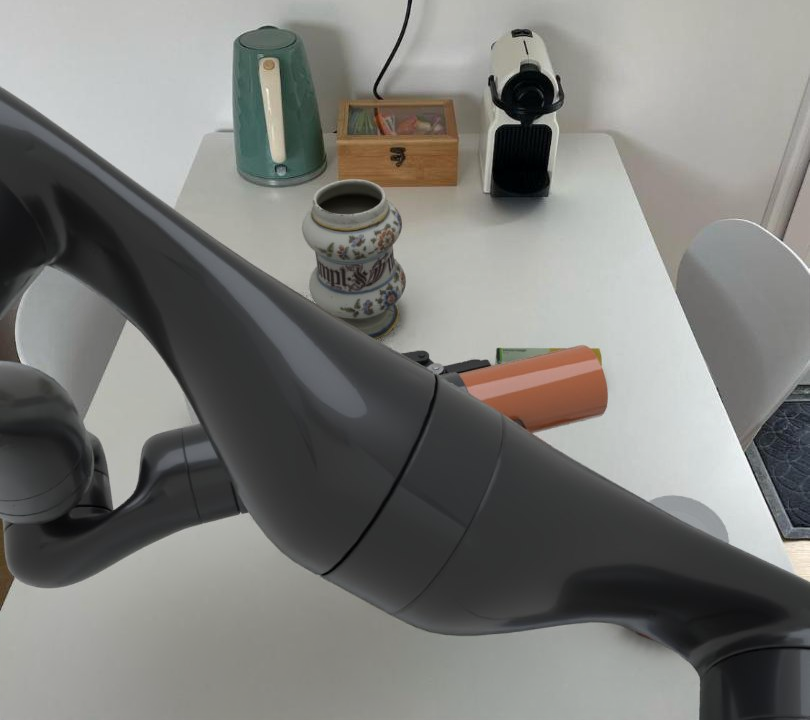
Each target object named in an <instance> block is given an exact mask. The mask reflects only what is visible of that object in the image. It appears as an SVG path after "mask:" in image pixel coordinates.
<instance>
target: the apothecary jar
mask: <svg viewBox="0 0 810 720" xmlns="http://www.w3.org/2000/svg"><path fill="white" fill-rule="evenodd" d="M402 228H403V221H402V216H401V214H400V212H399V210H398V209H397V207H396V206H395V205H394V204H393V203H392V202H390V201H389V200H388V199H387V195H386V192H385V191H384V189H383V188H382V187H381V186H380V185H379V184H377V183H375V182H374V181H373V182H372V181H370V180H366V179H359V178H348V179H341V180H336V181H333V182H330V183H328V184H326V185H324V186H322V187H321V188H319V189H318V190H317V191H316V192H315V193H314V194H313V197H312V206H311V207H310V208H309V209H308V210H307V212H306V213H305V215H304V217H303V219H302V224H301V232H302V235H303V239H304V240H305V242H306V244H307V246H309V248H311V250H312V251H314V252H315V262H316V266H315V268H314V269H313V271H312V272H311V274H310V277H309V280H308V281H309V282H308V289H309V293H310V296H311V298H312V301H313V302H314V303H315V304H317V305H319V306H320V307H322V308H323V309H325V310H327V311H328V312H330V313H332V314H333V315H335V316H337V317H338V318H340V319H342V320H343V321H345V322H347V323H348V324H350V325H352V326H353V327H355V328H357V329H359V330H360V331H362V332H364V333H365V334H367V335H369V336H370V337H372V338H374V339H376V340H378V339H380V338H382V337H384V336H386V335H387V334H389V333H390V332H391V331H392V330H393V329H394V328H395V327H396V325H397V323H398V321H399V319H400V318H399V317H400V311H399V308H398V306H397V303H398V301H399V300H400V299H401V298H402V296H403V295H404V292H405V288H406V284H407V279H406V274H405V271H404V269H403V267H402V265H401V264H400V263H399V261H397V259H396V258H395V256H394V255H395V254H394V244H395V243H396V242H397V241H398V239H399V238H400V235H401V233H402V230H403V229H402Z"/></svg>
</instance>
